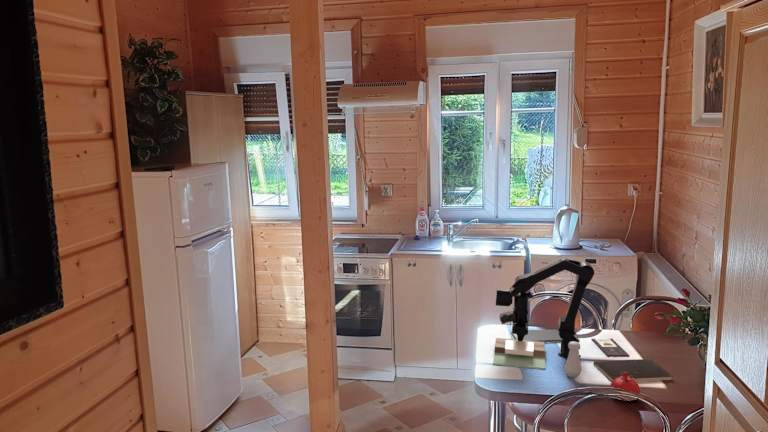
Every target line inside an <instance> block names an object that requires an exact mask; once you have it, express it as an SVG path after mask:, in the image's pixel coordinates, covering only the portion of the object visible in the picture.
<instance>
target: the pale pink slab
mask: <svg viewBox="0 0 768 432" xmlns="http://www.w3.org/2000/svg"><path fill="white" fill-rule="evenodd" d="M505 354H516V355H527V356H533V342H524V341H512V340H506V345H505Z"/></svg>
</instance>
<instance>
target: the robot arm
mask: <svg viewBox="0 0 768 432" xmlns="http://www.w3.org/2000/svg"><path fill="white" fill-rule="evenodd" d="M563 271H567V272H570V273H571V274H574V275H575V285H574V287H573V290H572V293H571V297H570V299H569V302H568V306H567V308H566V312H565V314H564V315H563V316H559V318H558V322H557V324H556V328H557V329H558V333H559V336H560V338H561V339H563V340H562V342H560V352H559V353H558V354H557V355H558V356H560V357H563V358H564V359H568V355H569V351H570V349H569V348H568V344H569V342H572V341H575V342H578V343H579V340H578V339H579V336H578V334H577V332H576V330H575V329H576V328H575V326H576V318H577V315H578V311H579V309H580V305H581V302H582V299H583V297H584V294H585V292H586V291H585V290H586V288H587V287H588V285H589V284H590V283H591V281H592V280H593V278H594V275H595V270H594V268H593V266H592V264H591V263H590V262H589V261H578V260H575V259H568V258H566V257H561V258H560V259H558V260H557V261H555V262H553V263H551V264H548V265H547V266H544V267H542V268H541V269H538V270H536V271H534V272H528V273H524V274H520V275H518V276H516V277H515V280H514V283H513V284H512V286H510V288H509V289H501V288H496V295H495V306H498V307H510V306H512V305H513V307H512V310H510V311H504V312H502V313H499V320H500V323H501V325H506V324H507V323H511V322H512V326H511V327H512V328H511V331H512V333H513V334H517V338H518V341H523V339H524V337H525V335H528V330H529V325H528V322H529V300H530V299H532V298H533V299H534V293H532V292H531V290H532V288H534V287H535V286H536V285H537V284H538V283H540V282H542V281H544V280H547V279H548V278H550V277H552V276H555V275H556V274H559V273H561V272H563ZM529 298H530V299H529ZM579 344H580V343H579ZM581 357H582V355H580V354H579V358H581Z"/></svg>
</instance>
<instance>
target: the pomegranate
mask: <svg viewBox="0 0 768 432" xmlns="http://www.w3.org/2000/svg"><path fill="white" fill-rule="evenodd" d="M624 374H625V376H624V375H623V374H620V375H622V376H621V377H615V378H616V379H615V380H613V381H612V382H611V381H610V382H611V383H610V385H609V386H610V387H614V388H620V389H624V390H628V391H632V392H636V393H640V394H641V393H642V392H641V388H640V385H639V383H638V381H635V380H634V379H635V378H629V377H630V376H631V375H630V376H628V377H627V372H624ZM631 377H632V376H631ZM637 380H638V379H637Z"/></svg>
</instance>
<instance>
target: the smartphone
mask: <svg viewBox="0 0 768 432" xmlns="http://www.w3.org/2000/svg"><path fill="white" fill-rule="evenodd" d="M510 334H511V336H513V337H514V338H513V339H515V340H518V338H517V334H513V333H512V330H511V331H510ZM523 340H528V341H540V342H560V343H562V340H563V339H561V338H560V336H559V333H558V329H555V328H554V329H528V335H525V337H524V339H523ZM578 340H579V341H580V342H581V340H580V338H578Z"/></svg>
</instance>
